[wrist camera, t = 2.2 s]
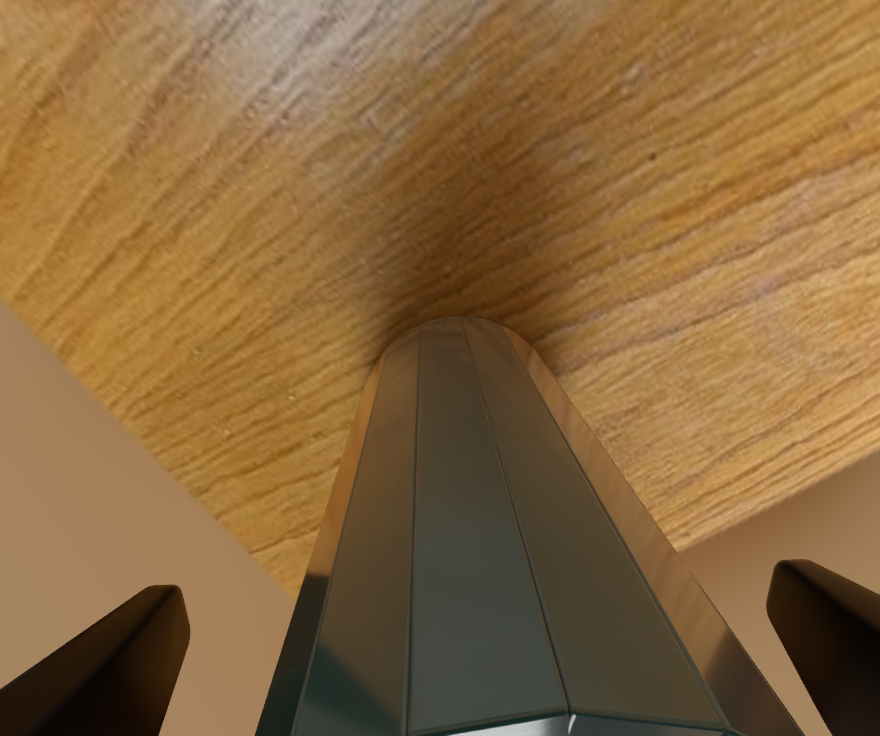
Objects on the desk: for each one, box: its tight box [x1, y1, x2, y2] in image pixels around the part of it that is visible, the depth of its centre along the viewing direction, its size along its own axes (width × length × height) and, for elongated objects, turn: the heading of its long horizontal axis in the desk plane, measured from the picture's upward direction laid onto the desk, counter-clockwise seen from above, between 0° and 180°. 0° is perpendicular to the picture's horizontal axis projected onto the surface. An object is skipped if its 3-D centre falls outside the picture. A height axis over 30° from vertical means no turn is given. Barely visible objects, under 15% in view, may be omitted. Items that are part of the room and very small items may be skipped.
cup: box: [255, 316, 805, 736], centre depth 9 cm, size 5×5×11 cm
